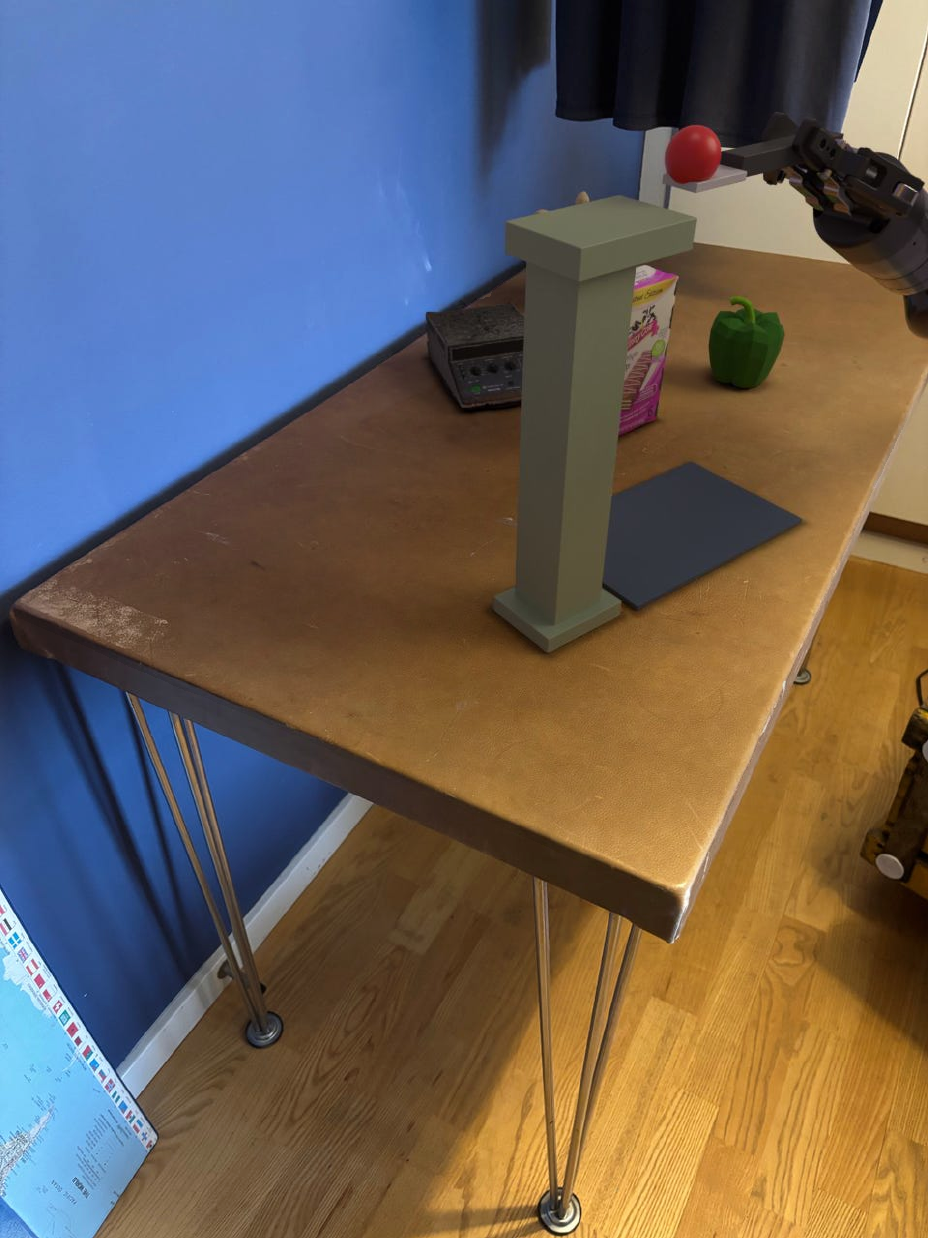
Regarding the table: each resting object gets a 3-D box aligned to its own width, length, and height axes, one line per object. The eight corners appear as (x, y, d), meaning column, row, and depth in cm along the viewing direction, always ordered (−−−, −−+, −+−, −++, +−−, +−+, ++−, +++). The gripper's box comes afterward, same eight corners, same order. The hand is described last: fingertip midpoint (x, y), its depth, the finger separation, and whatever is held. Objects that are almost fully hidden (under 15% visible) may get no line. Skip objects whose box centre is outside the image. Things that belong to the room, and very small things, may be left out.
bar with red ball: (807, 147, 68) (819, 92, 66) (848, 156, 66) (862, 100, 64) (649, 184, 61) (656, 124, 58) (690, 196, 59) (699, 134, 56)
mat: (690, 465, 95) (690, 460, 95) (801, 523, 86) (802, 518, 86) (529, 536, 85) (529, 532, 85) (637, 610, 76) (637, 606, 76)
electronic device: (461, 415, 105) (460, 364, 101) (425, 356, 118) (423, 309, 114) (558, 402, 107) (560, 351, 103) (512, 345, 120) (513, 298, 116)
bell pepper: (785, 377, 112) (803, 296, 105) (755, 400, 107) (773, 316, 101) (722, 360, 116) (737, 280, 110) (691, 381, 111) (704, 300, 105)
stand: (584, 565, 81) (619, 194, 62) (641, 604, 77) (697, 217, 57) (492, 610, 76) (498, 222, 57) (547, 653, 72) (574, 249, 53)
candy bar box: (591, 452, 97) (605, 299, 87) (558, 435, 100) (568, 285, 90) (660, 420, 103) (681, 273, 93) (627, 405, 106) (643, 261, 96)
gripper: (930, 286, 73) (842, 204, 60) (787, 244, 81) (686, 165, 69) (983, 191, 70) (904, 85, 58) (831, 158, 79) (733, 60, 67)
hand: (786, 129), depth 63 cm, fingers closed on bar with red ball, 2 cm apart
